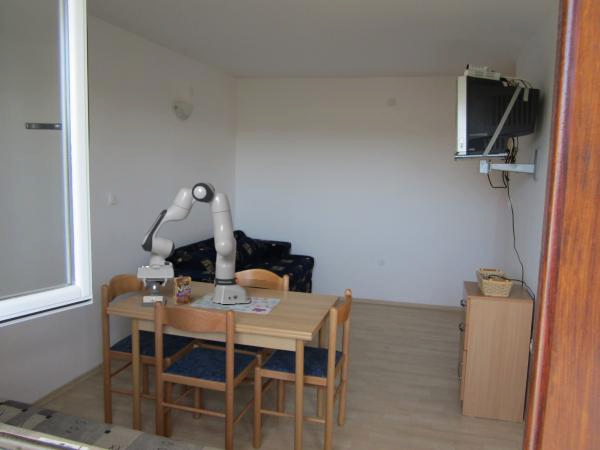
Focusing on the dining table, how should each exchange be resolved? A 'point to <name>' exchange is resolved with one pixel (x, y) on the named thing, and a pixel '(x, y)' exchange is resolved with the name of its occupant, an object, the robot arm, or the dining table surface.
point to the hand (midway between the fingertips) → (154, 286)
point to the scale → (152, 300)
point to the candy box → (181, 290)
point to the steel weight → (154, 289)
